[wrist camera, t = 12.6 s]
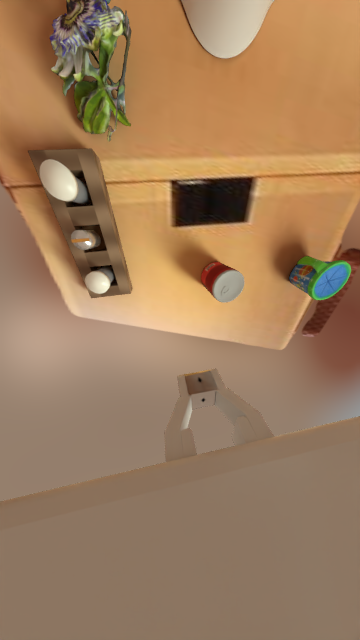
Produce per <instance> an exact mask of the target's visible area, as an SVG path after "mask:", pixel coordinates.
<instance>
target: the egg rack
mask: <svg viewBox="0 0 360 640" xmlns="http://www.w3.org/2000/svg"><path fill="white" fill-rule="evenodd" d="M28 153H29V155H30V157H31V160H32V162H33V164H34V167H35V169H36V171H37V174H38V176H39V178H40V166H41V164H42V163H43V162H44V161H45V160H49V159H52V160H56V161H58V162H60V163H61V164H63V165H64V166H65V167H67V168H68V169H69V170H70V171H71V172H72V173H73V175H74V176H75V177H76V178H82V177H85V180H86V183H87V186H88V189H89V193H90V196H91V199H92V202H93V205H94V206H82V207H75V206H74V203H73V201H69V202H67V201H63V200H60V199H57V198H55V197H54V196H52V195H51V194H50V193H49V192H48V191H47V190H46V188H45V187H44V185H43V183H42V181H41V183H42V185H43V187H44V190H45V192H46V194H47V197H48V199H49V201H50V204H51V206H52V208H53V211H54V213H55V215H56V218H57V220H58V222H59V225H60V227H61V229H62V231H63V234H64V236H65V238H66V241H67V243H68V245H69V248H70V250H71V252H72V255H73V257H74V259H75V262H76V264H77V266H78V269H79V271H80V273H81V276H82V278H83V280H84V282H85V278H86V276H87V275H88V274H89V273H91V272H92V271H97V270H98V269H97V267H96V266H105V265H112V267H113V270H114V274H115V277H116V280H117V281H115V282H111V283H110V287H109V289H108V290H107V291H106V292H105V293H101V294H98V293H94V292H92V291H91V290H90V289H88V287H87V286H86V287H87V289H88V292H89V294H90V296H91V298H97V297H105V296H114V295H122V294H130V293H131V291H132V284H131V281H130V277H129V273H128V269H127V265H126V261H125V257H124V253H123V249H122V246H121V242H120V238H119V234H118V230H117V226H116V222H115V218H114V214H113V211H112V207H111V203H110V199H109V195H108V191H107V187H106V183H105V179H104V175H103V172H102V168H101V164H100V160H99V158H98V156H97V155H96V154H95V152H94V151H93V150H92V149H62V150H29V151H28ZM40 180H41V178H40ZM97 225H100V228H101V231H102V235H103V238H104V241H105V244H106V248H107V249H106V250H95V251H91V250H90V249H87V250H81V249H79V248H77V247H76V246H75V245H74V244H73V243H72V241H71V234H72V233H73V232H74V231H75V230H83V228H82V227H84V226H97ZM85 285H86V283H85Z"/></svg>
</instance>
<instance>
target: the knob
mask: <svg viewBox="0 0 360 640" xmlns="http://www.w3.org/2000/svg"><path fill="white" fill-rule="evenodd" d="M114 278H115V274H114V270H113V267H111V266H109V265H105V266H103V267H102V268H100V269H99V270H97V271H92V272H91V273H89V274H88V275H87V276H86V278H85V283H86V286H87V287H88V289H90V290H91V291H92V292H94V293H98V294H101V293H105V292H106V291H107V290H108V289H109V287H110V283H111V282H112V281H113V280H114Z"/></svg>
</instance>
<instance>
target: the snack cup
mask: <svg viewBox="0 0 360 640" xmlns="http://www.w3.org/2000/svg"><path fill="white" fill-rule="evenodd" d="M297 264H298V265H296V266H295V267H294V269H293V270H292V272H291V274H290V277H289V279H290V282H291V283H292V284H293V285H294V286H296V287H298V288H299V289H301V290H302V291H304V292H306V293H308V294H309V296H310V297H312V298H313V299H315V300H323V299H327V298H329V297H331V296H333V295H334V294H336V293H337V292H338V291H339V290H340V289H341V288H342V287H343V286H344V285H345V283H346V282H347V280H348V278H349V276H350V272H351V267H350V265H349V264H348V263H347V262H345V261H343V260H340V261H333V262H323V261H320V260H317V259H314V258H312V257H309V256H305V257H303V258H301V259H300V260H299V261H298V263H297Z"/></svg>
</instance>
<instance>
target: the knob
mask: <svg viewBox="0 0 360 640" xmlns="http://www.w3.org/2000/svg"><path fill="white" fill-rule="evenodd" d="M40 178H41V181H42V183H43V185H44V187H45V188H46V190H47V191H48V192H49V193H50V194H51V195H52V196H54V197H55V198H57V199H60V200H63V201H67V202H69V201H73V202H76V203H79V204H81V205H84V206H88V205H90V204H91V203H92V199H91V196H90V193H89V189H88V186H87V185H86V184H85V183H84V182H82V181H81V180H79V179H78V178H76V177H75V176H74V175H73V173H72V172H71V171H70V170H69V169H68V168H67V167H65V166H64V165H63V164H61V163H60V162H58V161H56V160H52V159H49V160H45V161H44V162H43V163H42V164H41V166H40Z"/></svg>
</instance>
